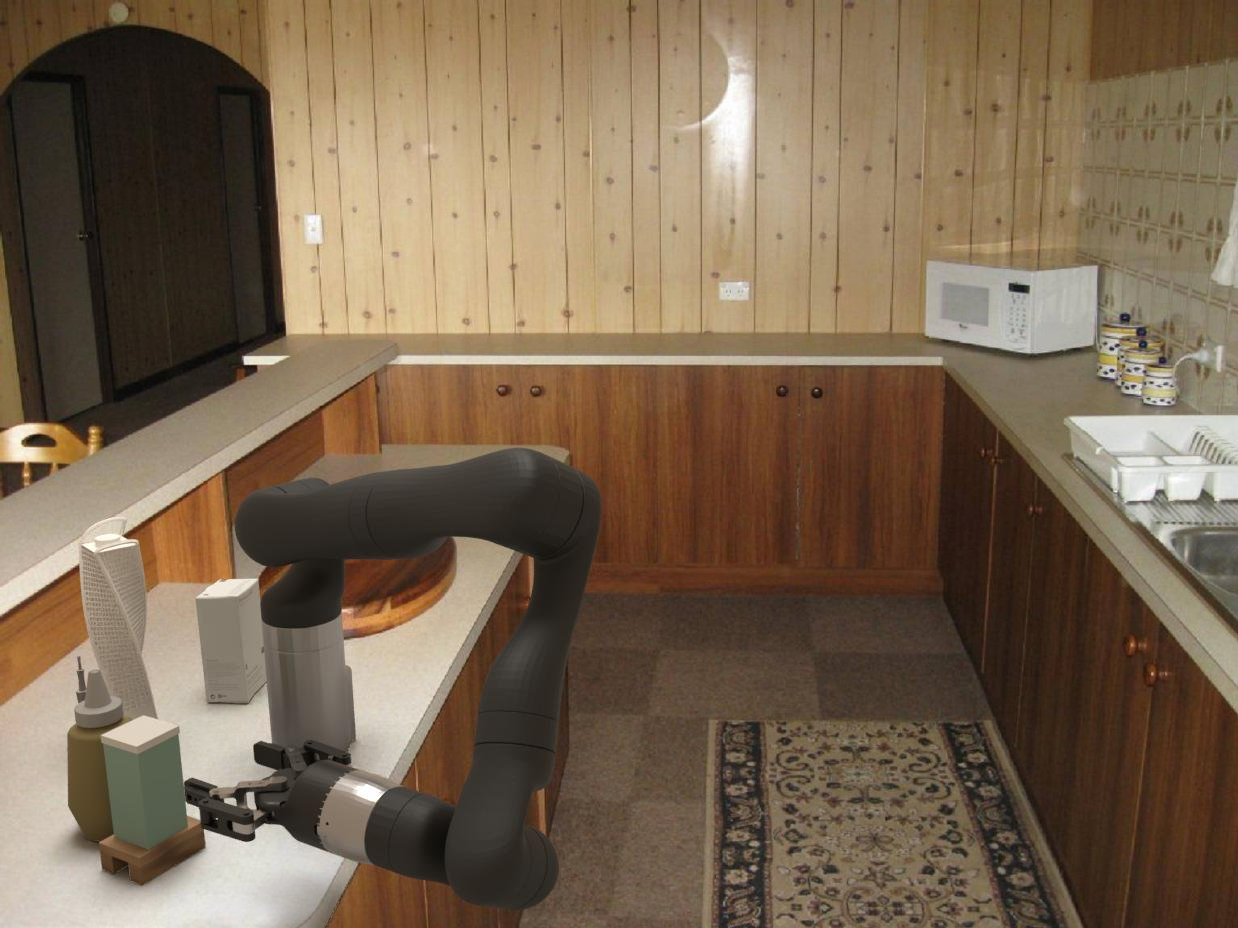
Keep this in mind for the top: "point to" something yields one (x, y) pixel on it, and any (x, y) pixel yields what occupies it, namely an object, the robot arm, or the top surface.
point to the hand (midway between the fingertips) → (222, 769)
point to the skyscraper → (116, 617)
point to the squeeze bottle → (92, 758)
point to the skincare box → (231, 640)
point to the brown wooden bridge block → (152, 853)
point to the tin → (145, 781)
